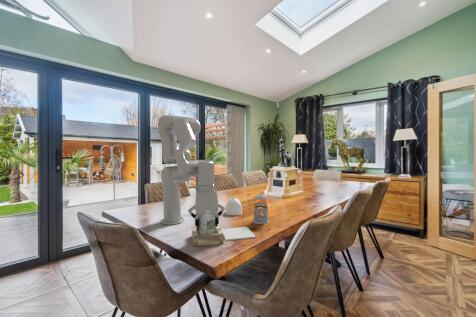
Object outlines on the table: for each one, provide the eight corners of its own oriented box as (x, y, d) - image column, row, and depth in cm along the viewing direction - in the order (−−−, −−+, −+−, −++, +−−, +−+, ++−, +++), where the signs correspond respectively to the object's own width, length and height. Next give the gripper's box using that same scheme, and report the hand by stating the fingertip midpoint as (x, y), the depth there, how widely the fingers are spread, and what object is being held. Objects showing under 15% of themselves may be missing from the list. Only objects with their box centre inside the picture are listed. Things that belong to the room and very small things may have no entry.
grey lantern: (269, 224, 128) (268, 178, 127) (248, 223, 130) (247, 178, 129) (270, 219, 137) (270, 176, 136) (250, 218, 140) (250, 176, 139)
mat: (220, 230, 119) (220, 229, 119) (247, 227, 123) (247, 226, 123) (226, 240, 106) (226, 239, 106) (255, 237, 109) (255, 236, 109)
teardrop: (244, 214, 147) (244, 195, 147) (227, 216, 145) (226, 196, 144) (240, 210, 158) (240, 192, 158) (223, 211, 156) (223, 193, 155)
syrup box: (207, 236, 111) (206, 205, 111) (216, 239, 108) (215, 207, 107) (198, 239, 107) (197, 208, 106) (207, 243, 103) (206, 210, 103)
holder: (192, 235, 112) (191, 227, 112) (218, 233, 115) (218, 225, 115) (193, 246, 100) (193, 237, 99) (223, 243, 103) (223, 234, 103)
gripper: (187, 190, 101) (187, 231, 101) (226, 188, 105) (227, 227, 106) (186, 188, 108) (187, 225, 109) (223, 186, 112) (224, 222, 113)
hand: (206, 226), depth 107 cm, fingers closed on syrup box, 8 cm apart
